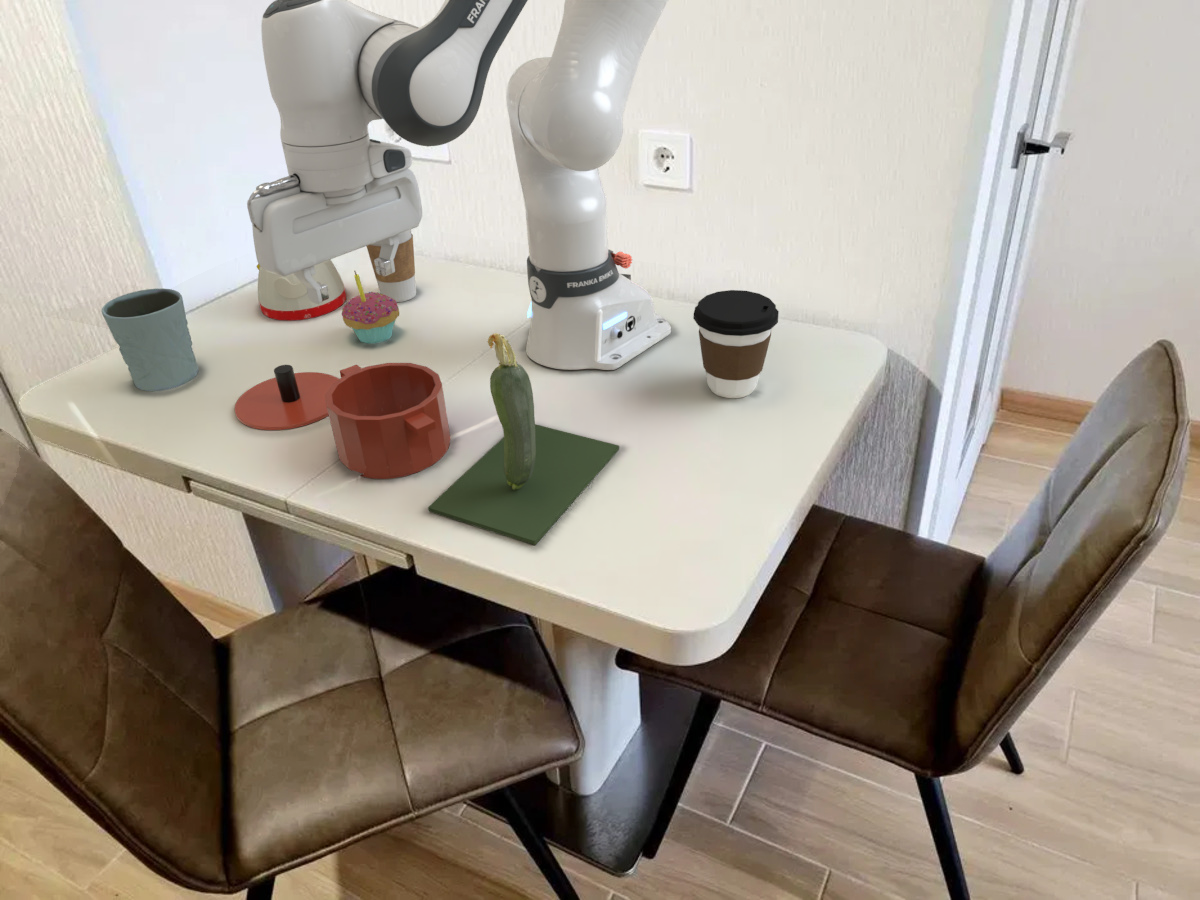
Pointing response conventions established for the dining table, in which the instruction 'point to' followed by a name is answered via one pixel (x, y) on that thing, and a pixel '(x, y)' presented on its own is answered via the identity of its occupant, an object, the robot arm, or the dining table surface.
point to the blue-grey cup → (153, 337)
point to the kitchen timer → (298, 294)
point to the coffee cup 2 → (734, 339)
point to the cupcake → (370, 315)
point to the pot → (388, 419)
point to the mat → (526, 486)
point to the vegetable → (514, 412)
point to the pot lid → (285, 400)
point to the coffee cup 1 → (397, 269)
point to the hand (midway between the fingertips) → (353, 286)
